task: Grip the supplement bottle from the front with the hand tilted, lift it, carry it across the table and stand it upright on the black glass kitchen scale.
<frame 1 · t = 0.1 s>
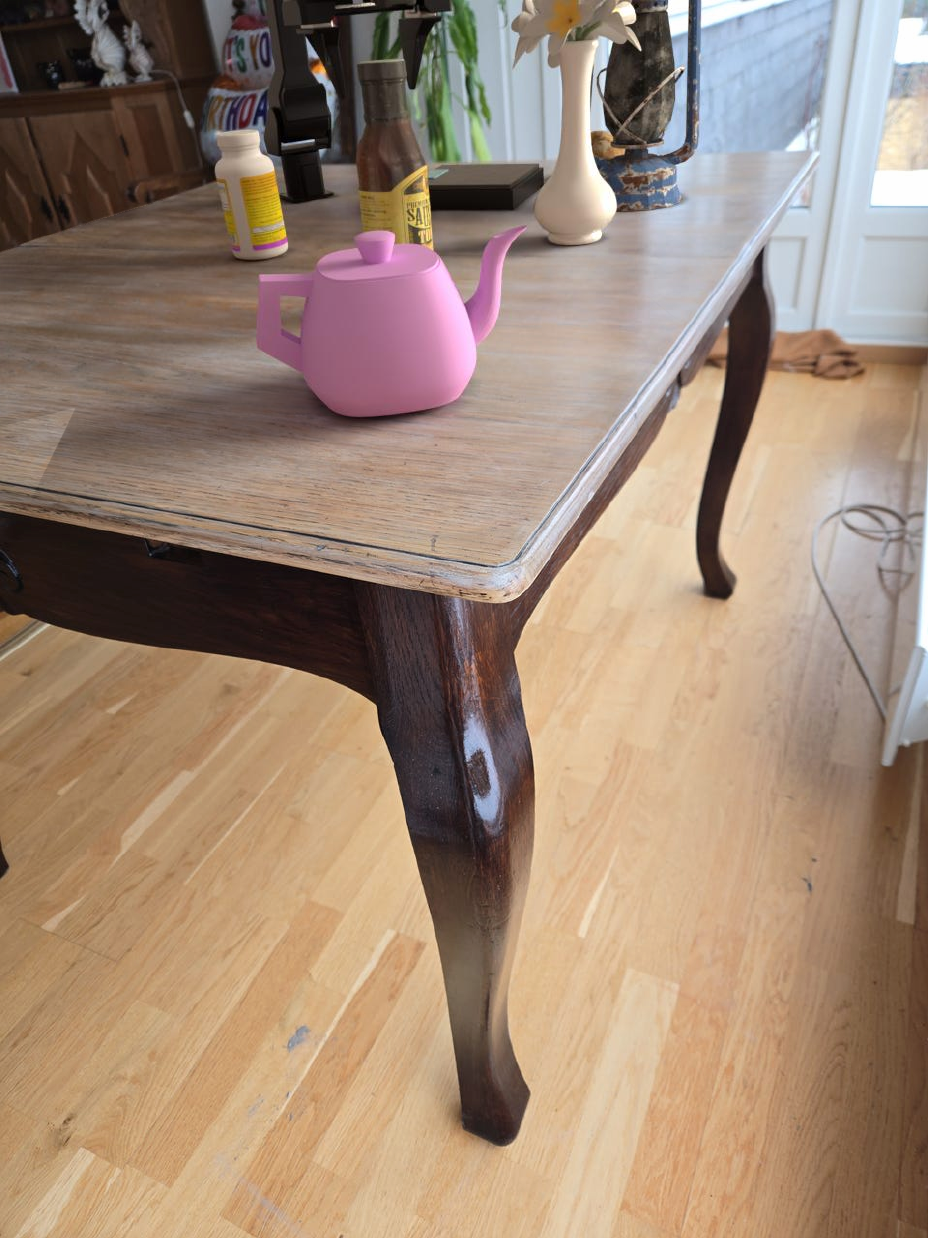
hand: (378, 93, 102), 15 cm above the table, tool pointing down, fingers open, 9 cm apart
flower vase: (570, 239, 100), on the table
lantern: (634, 201, 114), on the table
sauce bottle: (405, 309, 82), on the table
kitchen scale: (474, 197, 122), on the table
supplement bottle: (261, 255, 103), on the table
bread roll: (594, 180, 127), on the table
teapot: (401, 390, 66), on the table
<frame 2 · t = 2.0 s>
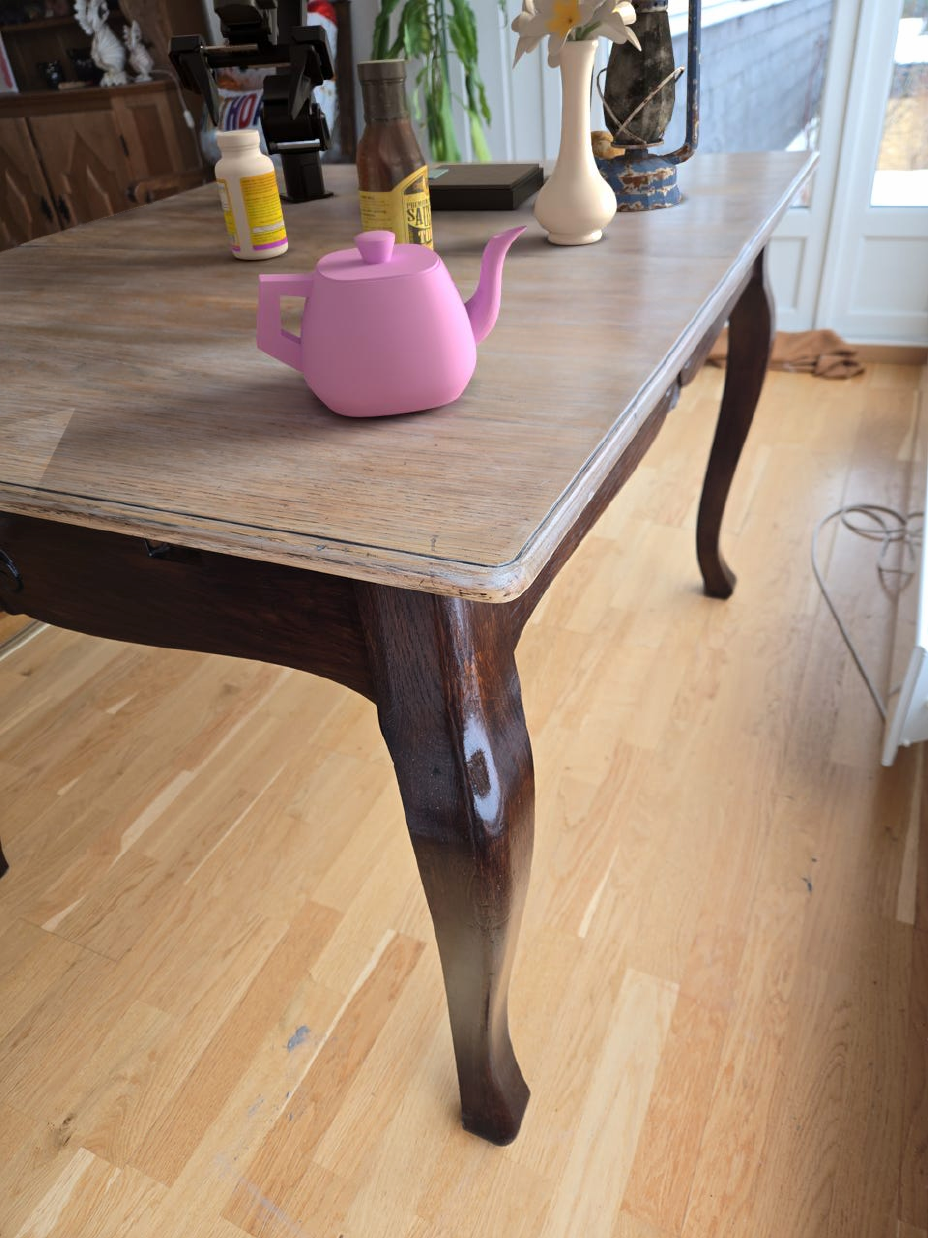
hand: (252, 121, 102), 13 cm above the table, tool tilted 45°, fingers open, 9 cm apart
nothing on the table moved.
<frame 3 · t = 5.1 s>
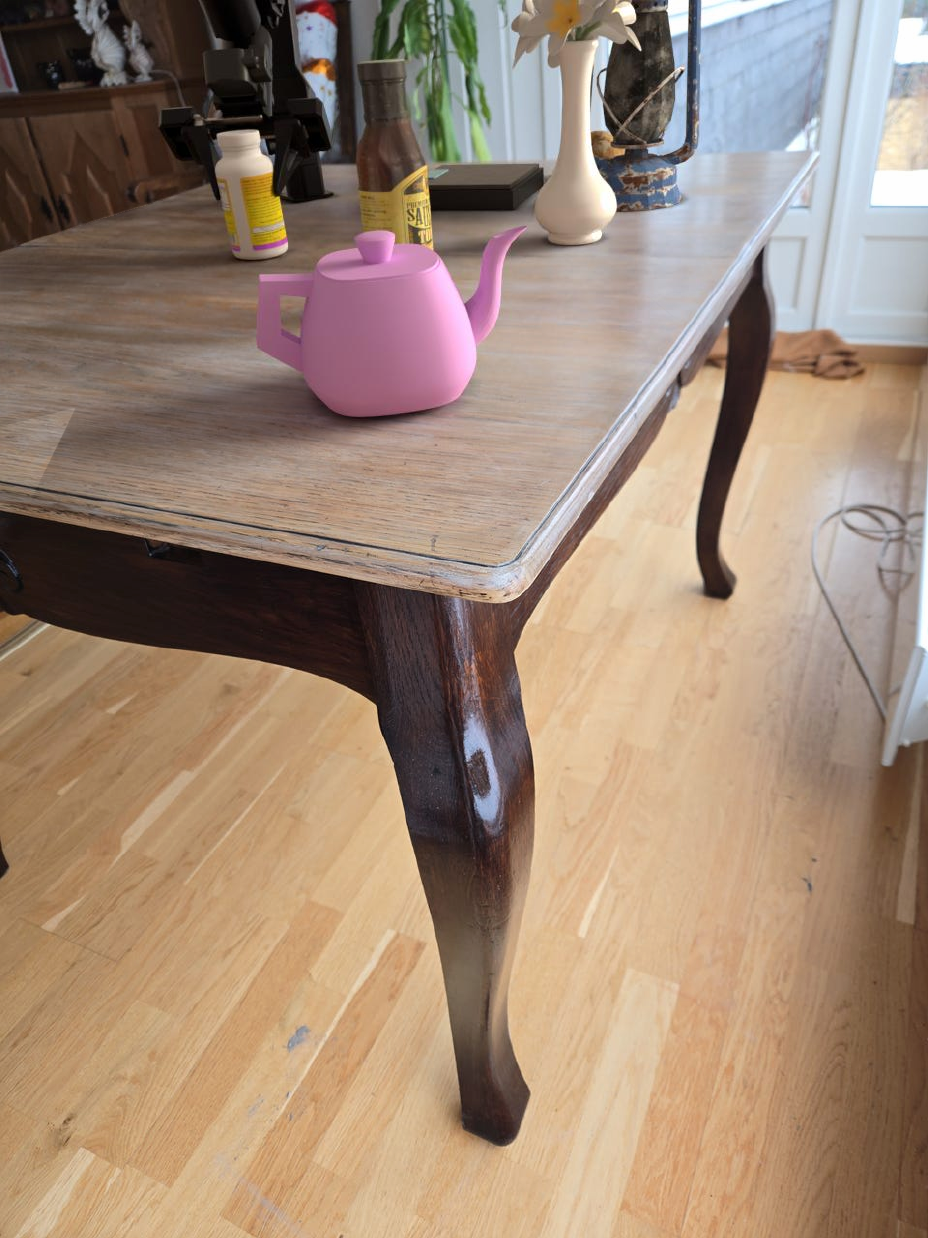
hand: (246, 196, 98), 7 cm above the table, tool tilted 45°, fingers closed on supplement bottle, 6 cm apart
supplement bottle: (261, 255, 103), on the table, touching gripper
everything else where it was.
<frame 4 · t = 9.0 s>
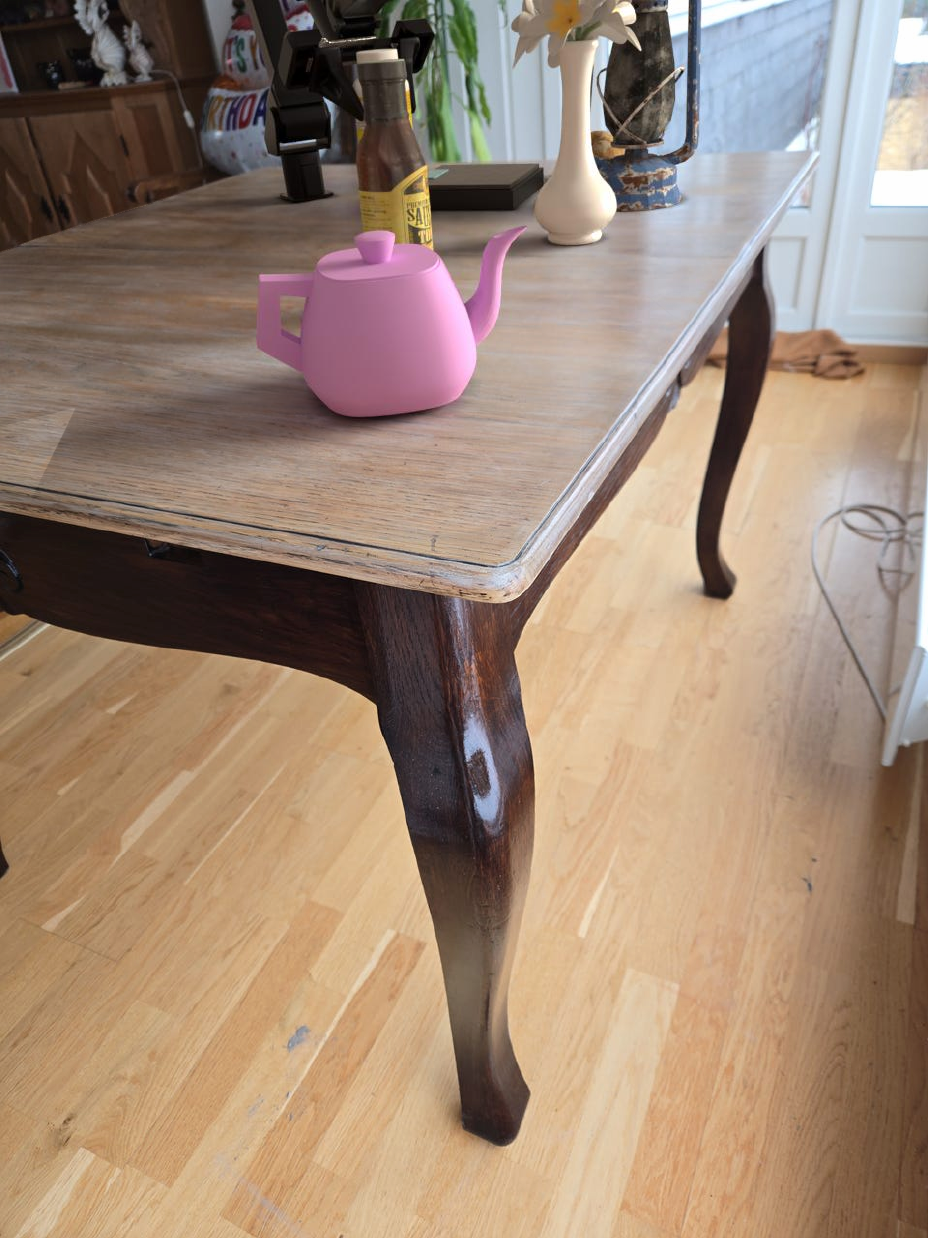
hand: (388, 114, 100), 13 cm above the table, tool tilted 45°, fingers closed on supplement bottle, 6 cm apart
supplement bottle: (389, 177, 105), point 6 cm above the table, touching gripper
everything else where it was.
when the fingers open (10 cm above the table, at t = 13.4 s): supplement bottle stays where it is, resting on kitchen scale.
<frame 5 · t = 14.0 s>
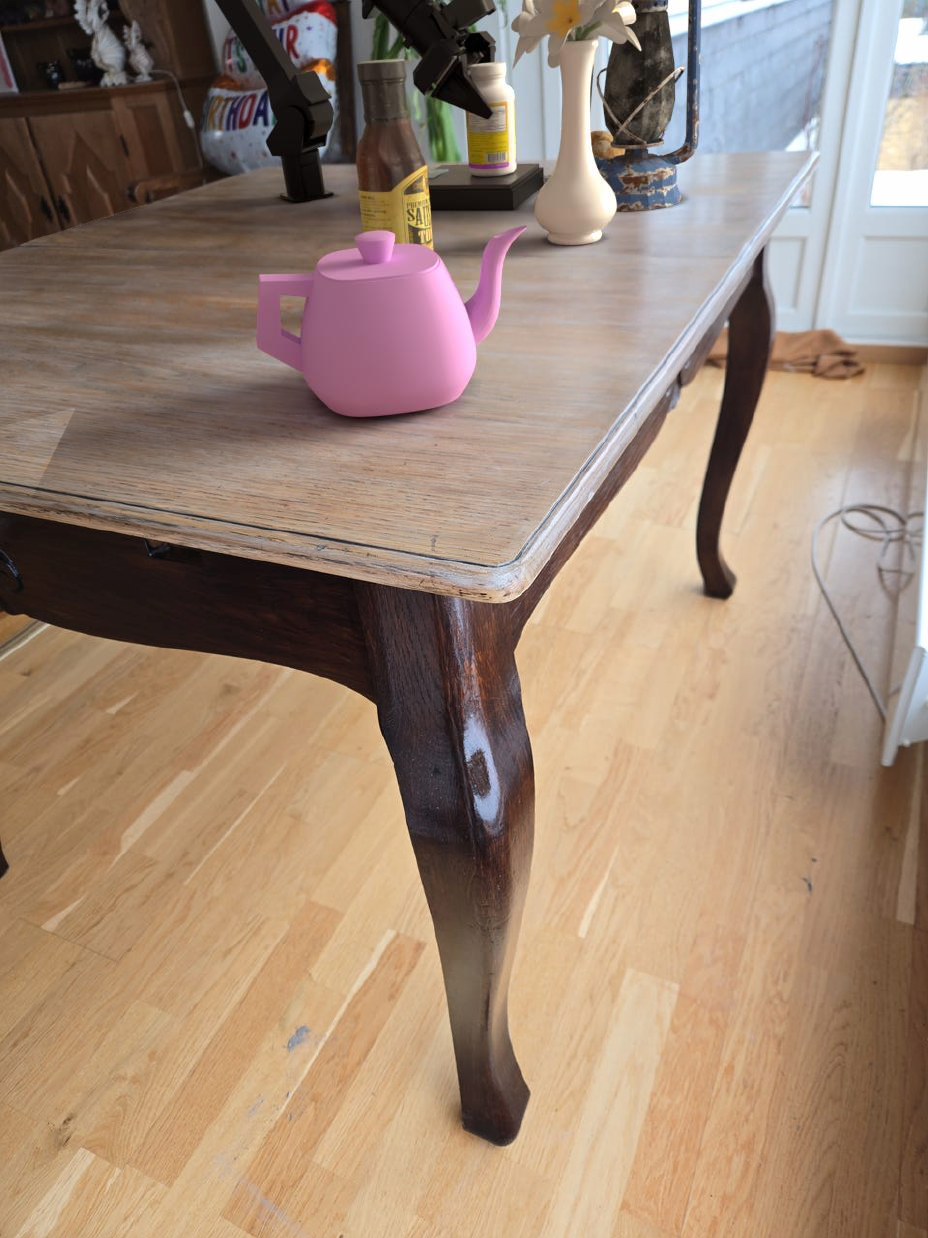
hand: (501, 111, 115), 10 cm above the table, tool tilted 45°, fingers open, 9 cm apart
supplement bottle: (492, 174, 120), point 3 cm above the table, touching kitchen scale
everything else where it was.
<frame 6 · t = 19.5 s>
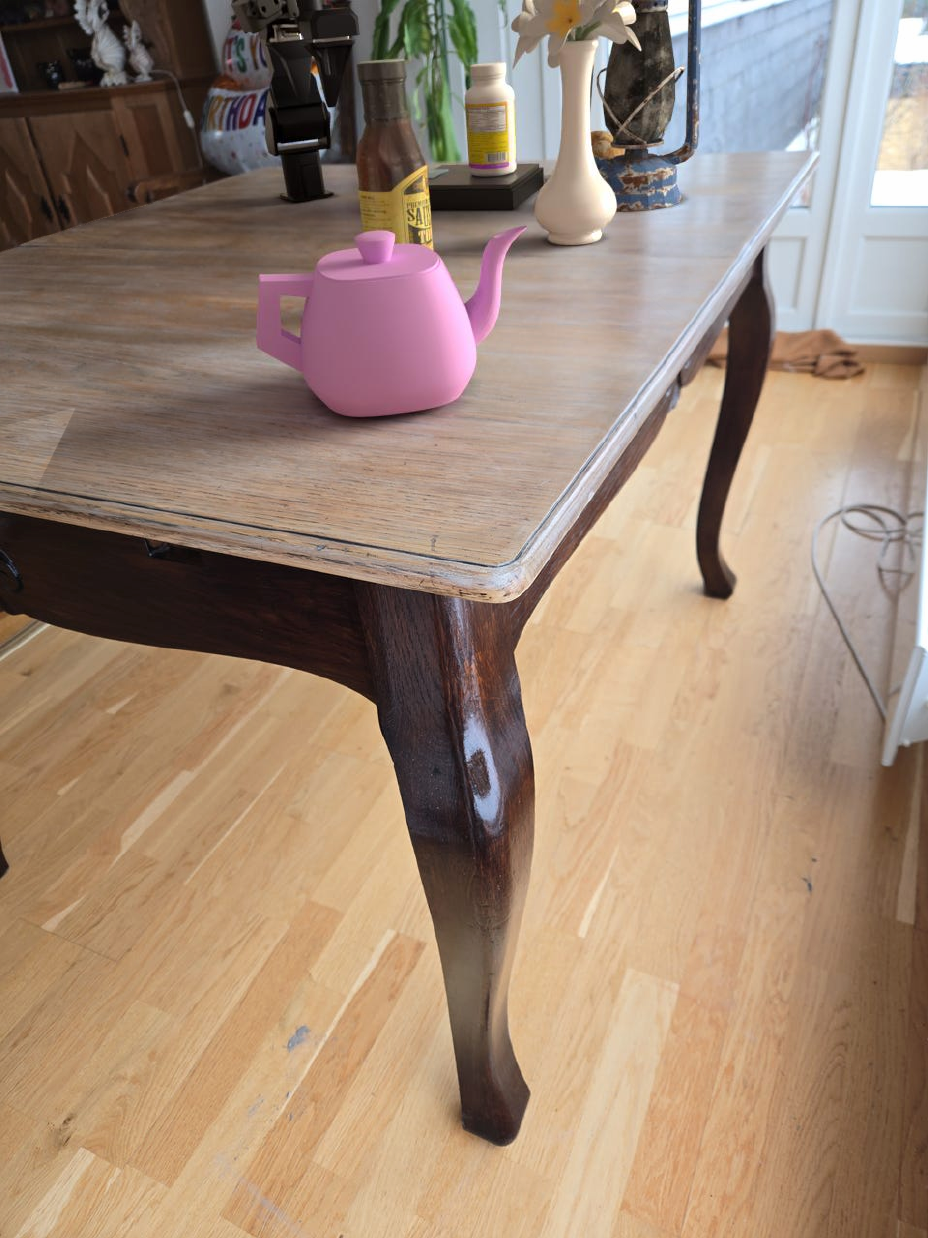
hand: (317, 104, 112), 13 cm above the table, tool pointing down, fingers open, 9 cm apart
nothing on the table moved.
at the end: supplement bottle inside the target area on the kitchen scale (1.3 cm from its centre), point 2.8 cm above the kitchen scale's base; supplement bottle tilted 0°; the gripper is holding nothing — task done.
